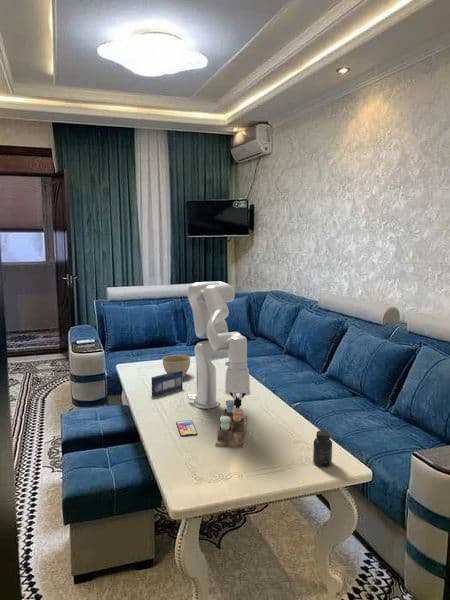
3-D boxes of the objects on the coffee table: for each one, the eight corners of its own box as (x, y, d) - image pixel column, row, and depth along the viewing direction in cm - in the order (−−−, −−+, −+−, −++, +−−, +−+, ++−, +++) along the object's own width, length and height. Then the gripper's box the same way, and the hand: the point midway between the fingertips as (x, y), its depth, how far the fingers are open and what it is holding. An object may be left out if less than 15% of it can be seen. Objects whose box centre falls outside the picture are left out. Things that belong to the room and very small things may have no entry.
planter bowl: (196, 375, 280) (196, 357, 278) (179, 382, 267) (178, 363, 265) (174, 370, 288) (174, 353, 287) (156, 377, 275) (156, 359, 273)
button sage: (219, 434, 194) (219, 419, 193) (220, 430, 198) (220, 415, 197) (229, 434, 194) (229, 420, 193) (230, 430, 198) (231, 416, 197)
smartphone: (191, 420, 215) (198, 433, 201) (191, 422, 216) (198, 435, 201) (175, 421, 214) (180, 435, 199) (175, 423, 214) (180, 437, 199)
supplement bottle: (310, 459, 181) (311, 429, 179) (328, 458, 182) (329, 428, 180) (315, 468, 174) (316, 437, 173) (334, 467, 175) (335, 436, 173)
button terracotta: (231, 425, 202) (231, 411, 201) (232, 421, 207) (232, 407, 206) (241, 426, 202) (241, 412, 201) (242, 422, 206) (242, 408, 205)
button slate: (224, 416, 212) (225, 403, 211) (226, 413, 216) (226, 399, 215) (234, 417, 211) (234, 403, 210) (235, 413, 215) (235, 400, 214)
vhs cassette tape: (154, 397, 245) (153, 378, 243) (151, 395, 247) (150, 377, 245) (183, 389, 257) (183, 371, 255) (180, 387, 259) (179, 369, 257)
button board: (215, 445, 191) (215, 433, 191) (224, 417, 220) (224, 406, 219) (241, 447, 190) (241, 435, 189) (247, 418, 219) (247, 407, 218)
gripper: (218, 367, 197) (219, 410, 200) (255, 368, 195) (254, 411, 198) (221, 362, 205) (221, 403, 207) (256, 363, 203) (255, 405, 205)
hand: (237, 407), depth 203 cm, fingers closed
